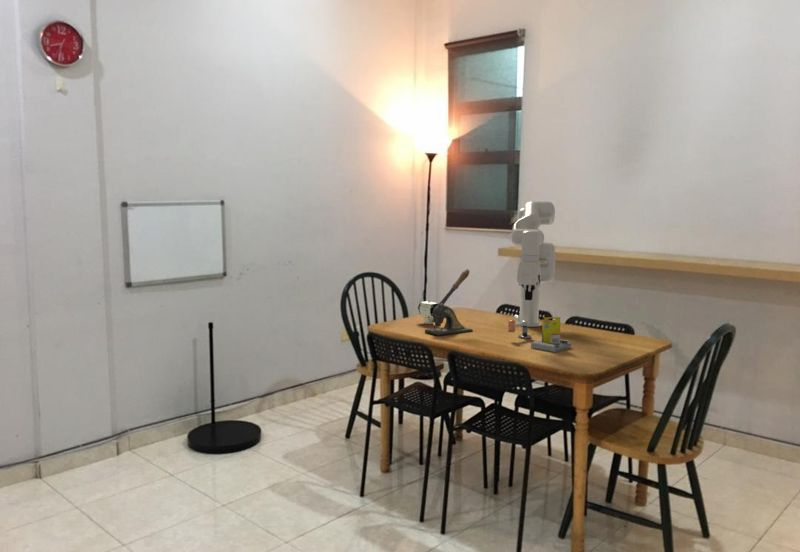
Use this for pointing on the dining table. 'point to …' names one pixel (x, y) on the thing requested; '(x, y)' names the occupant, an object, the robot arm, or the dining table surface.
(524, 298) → the robot arm
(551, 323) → the crayon box
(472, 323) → the dining table surface
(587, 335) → the dining table surface
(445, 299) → the embossing press
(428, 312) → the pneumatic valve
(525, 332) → the lever post
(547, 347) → the plate
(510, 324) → the press lever
